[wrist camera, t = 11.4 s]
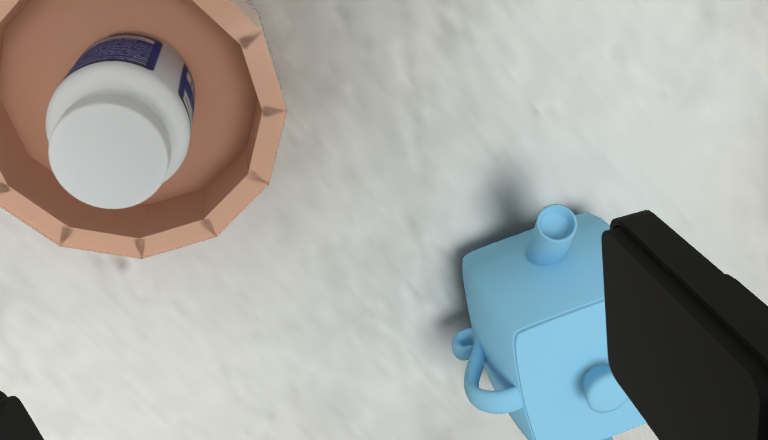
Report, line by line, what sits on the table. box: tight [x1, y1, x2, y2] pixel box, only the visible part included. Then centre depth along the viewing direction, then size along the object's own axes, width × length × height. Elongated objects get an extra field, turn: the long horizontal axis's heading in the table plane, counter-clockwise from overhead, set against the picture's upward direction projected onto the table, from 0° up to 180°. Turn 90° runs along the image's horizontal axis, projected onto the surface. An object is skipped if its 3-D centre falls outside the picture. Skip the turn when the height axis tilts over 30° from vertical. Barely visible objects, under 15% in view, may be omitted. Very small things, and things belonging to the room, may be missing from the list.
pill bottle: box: [46, 31, 195, 209], centre depth 29 cm, size 5×5×9 cm
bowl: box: [0, 0, 287, 259], centre depth 31 cm, size 13×13×4 cm
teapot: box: [452, 204, 647, 440], centre depth 39 cm, size 18×14×10 cm
